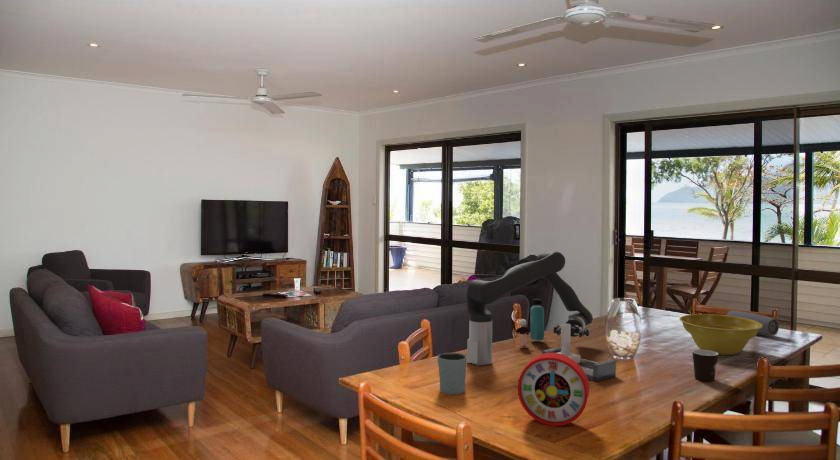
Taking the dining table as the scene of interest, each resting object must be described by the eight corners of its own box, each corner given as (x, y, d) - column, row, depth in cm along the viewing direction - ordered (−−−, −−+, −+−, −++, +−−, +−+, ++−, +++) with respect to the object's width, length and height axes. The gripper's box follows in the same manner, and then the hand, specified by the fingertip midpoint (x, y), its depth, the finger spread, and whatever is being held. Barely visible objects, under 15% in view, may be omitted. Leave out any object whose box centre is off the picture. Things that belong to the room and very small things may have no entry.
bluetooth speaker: (724, 329, 300) (724, 310, 300) (736, 328, 304) (737, 308, 303) (766, 339, 279) (767, 318, 279) (779, 337, 283) (779, 316, 283)
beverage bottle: (544, 343, 268) (544, 300, 267) (529, 343, 269) (530, 300, 268) (544, 340, 275) (544, 298, 274) (529, 339, 276) (530, 297, 275)
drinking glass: (457, 397, 195) (458, 361, 194) (431, 391, 200) (431, 357, 199) (471, 388, 203) (472, 354, 203) (446, 384, 209) (446, 350, 208)
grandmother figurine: (527, 345, 265) (528, 317, 264) (532, 347, 261) (532, 319, 261) (512, 346, 262) (512, 318, 262) (516, 349, 259) (516, 320, 258)
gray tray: (597, 381, 212) (597, 365, 212) (542, 365, 233) (542, 350, 232) (615, 376, 218) (615, 360, 218) (560, 361, 239) (560, 346, 239)
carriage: (567, 366, 225) (567, 327, 224) (550, 361, 231) (551, 324, 230) (580, 362, 229) (580, 324, 229) (563, 358, 236) (564, 321, 235)
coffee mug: (707, 384, 209) (708, 356, 209) (686, 377, 217) (687, 351, 216) (728, 379, 215) (729, 352, 214) (707, 373, 222) (707, 347, 222)
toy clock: (517, 421, 174) (517, 354, 173) (520, 414, 179) (521, 349, 178) (586, 430, 167) (588, 361, 166) (588, 423, 172) (589, 356, 171)
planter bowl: (744, 366, 233) (745, 332, 232) (665, 350, 257) (666, 320, 257) (773, 352, 254) (774, 321, 254) (697, 339, 278) (698, 311, 278)
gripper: (558, 316, 254) (551, 323, 240) (592, 318, 249) (587, 326, 234) (558, 333, 255) (551, 341, 240) (592, 336, 249) (587, 344, 234)
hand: (569, 333), depth 237 cm, fingers open, 8 cm apart
